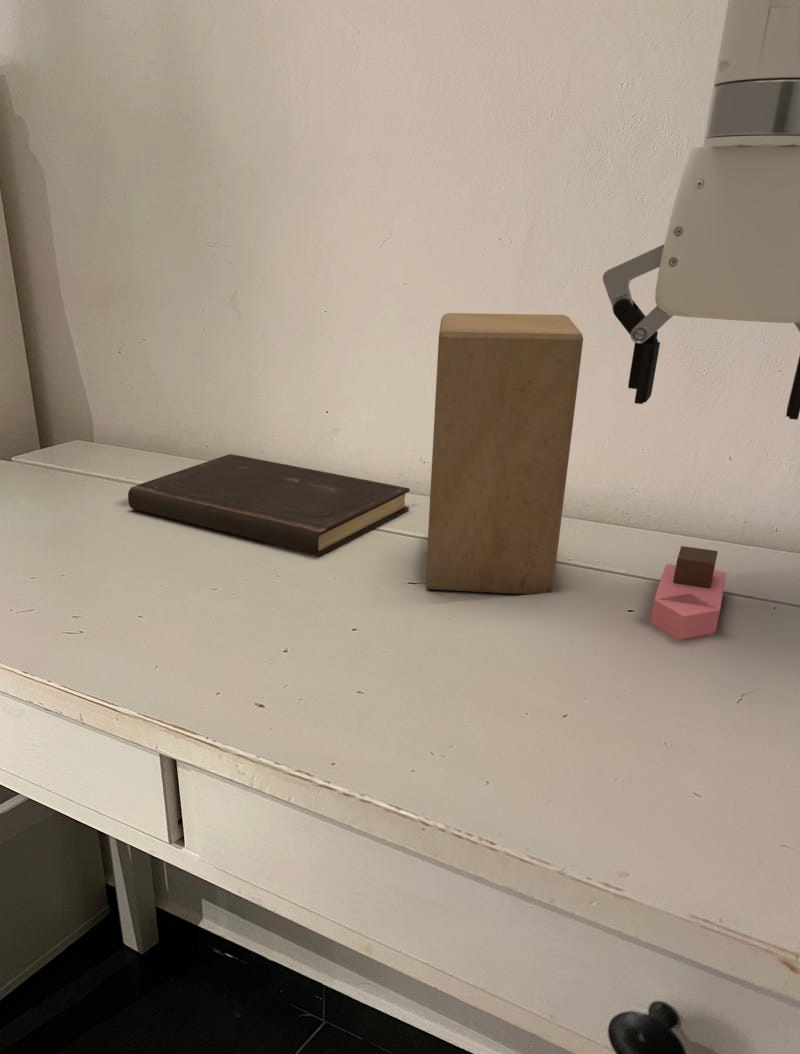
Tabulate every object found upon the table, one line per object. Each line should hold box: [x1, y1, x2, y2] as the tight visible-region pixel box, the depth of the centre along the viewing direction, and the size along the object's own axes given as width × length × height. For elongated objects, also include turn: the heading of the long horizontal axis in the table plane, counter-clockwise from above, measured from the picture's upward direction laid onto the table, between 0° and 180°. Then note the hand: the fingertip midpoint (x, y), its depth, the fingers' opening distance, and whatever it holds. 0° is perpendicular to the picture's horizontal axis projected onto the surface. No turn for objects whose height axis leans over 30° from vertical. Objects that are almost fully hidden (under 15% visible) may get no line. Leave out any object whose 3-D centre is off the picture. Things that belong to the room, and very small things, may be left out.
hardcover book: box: [127, 453, 411, 557], centre depth 91 cm, size 16×23×2 cm
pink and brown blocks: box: [649, 545, 727, 641], centre depth 67 cm, size 10×4×5 cm, turn 155°
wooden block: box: [424, 312, 584, 595], centre depth 72 cm, size 10×10×20 cm
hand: (715, 407), depth 63 cm, fingers open, 9 cm apart
